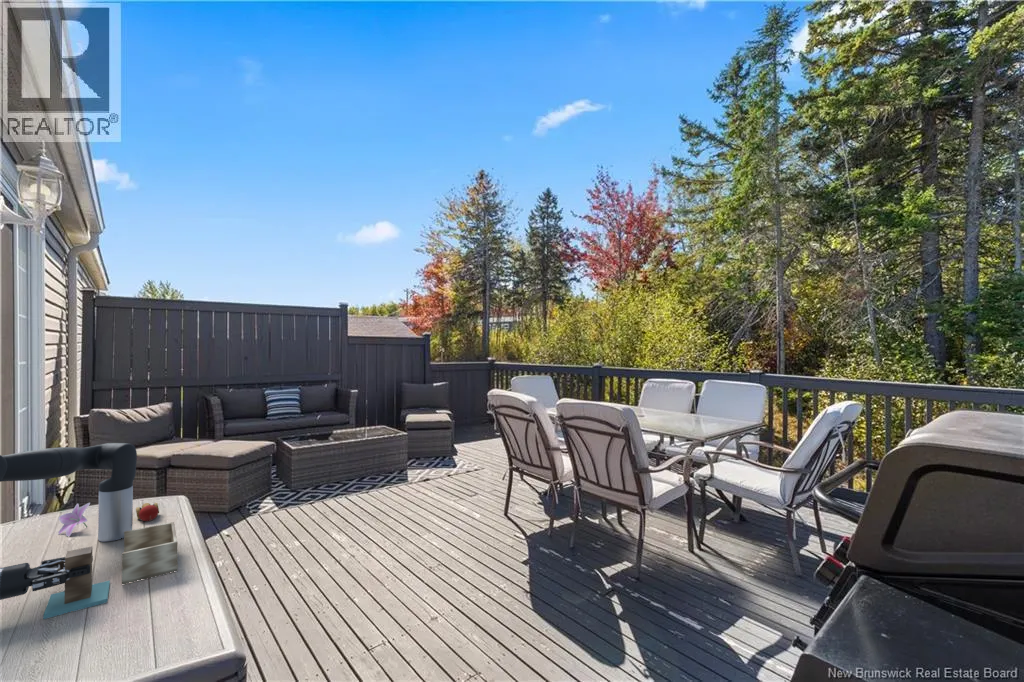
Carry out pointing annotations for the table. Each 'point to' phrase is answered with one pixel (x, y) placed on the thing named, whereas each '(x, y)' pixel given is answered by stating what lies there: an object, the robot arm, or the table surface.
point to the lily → (73, 519)
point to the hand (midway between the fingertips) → (91, 563)
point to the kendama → (147, 512)
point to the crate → (149, 552)
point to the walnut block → (81, 584)
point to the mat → (58, 606)
